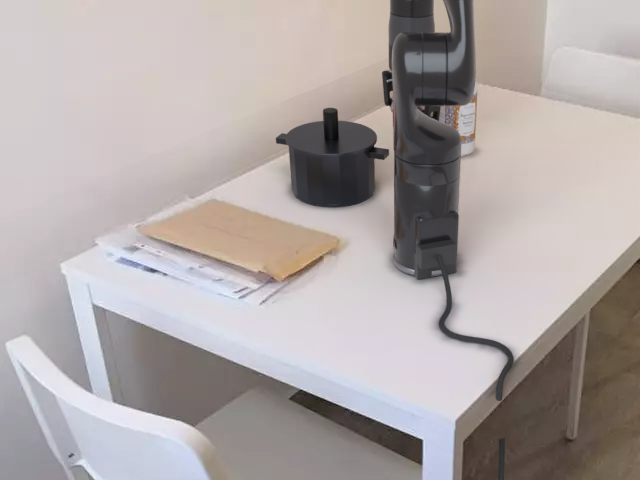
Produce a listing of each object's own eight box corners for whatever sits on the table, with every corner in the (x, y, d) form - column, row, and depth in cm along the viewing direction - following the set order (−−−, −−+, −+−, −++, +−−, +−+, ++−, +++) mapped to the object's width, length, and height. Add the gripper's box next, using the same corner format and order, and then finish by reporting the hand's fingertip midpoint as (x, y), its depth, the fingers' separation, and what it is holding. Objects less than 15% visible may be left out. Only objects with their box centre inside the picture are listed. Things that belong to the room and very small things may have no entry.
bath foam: (451, 160, 163) (454, 51, 152) (430, 147, 167) (433, 40, 156) (481, 152, 166) (487, 45, 155) (461, 140, 171) (465, 35, 160)
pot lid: (356, 166, 138) (355, 132, 135) (270, 152, 142) (267, 119, 138) (390, 133, 150) (389, 101, 147) (309, 121, 154) (307, 90, 150)
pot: (371, 215, 143) (370, 163, 138) (263, 197, 147) (258, 146, 142) (401, 182, 154) (401, 133, 149) (299, 166, 158) (296, 117, 153)
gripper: (367, 33, 146) (369, 130, 155) (419, 55, 137) (418, 157, 146) (404, 27, 150) (403, 122, 159) (457, 48, 141) (453, 147, 150)
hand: (410, 138), depth 153 cm, fingers closed on tomato can, 6 cm apart
